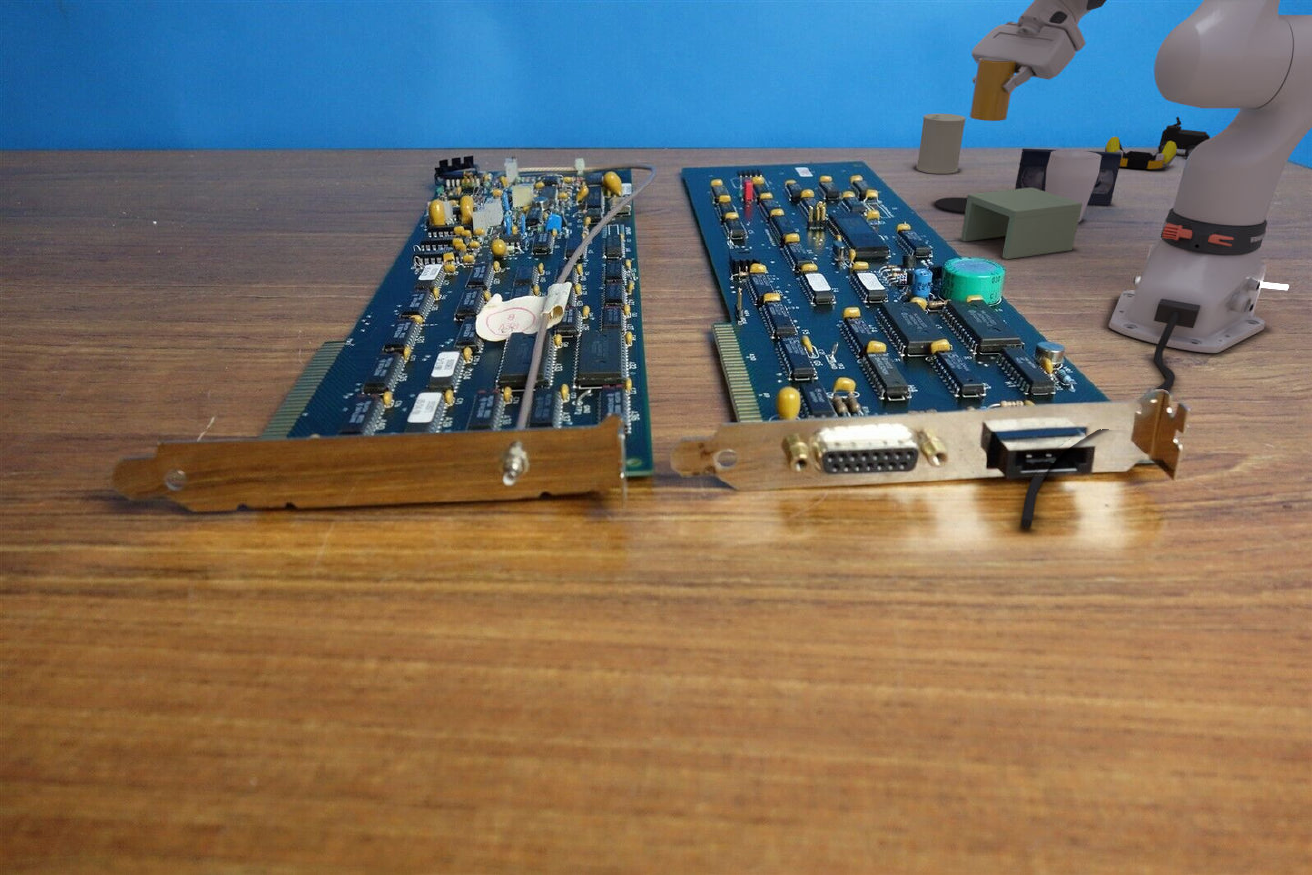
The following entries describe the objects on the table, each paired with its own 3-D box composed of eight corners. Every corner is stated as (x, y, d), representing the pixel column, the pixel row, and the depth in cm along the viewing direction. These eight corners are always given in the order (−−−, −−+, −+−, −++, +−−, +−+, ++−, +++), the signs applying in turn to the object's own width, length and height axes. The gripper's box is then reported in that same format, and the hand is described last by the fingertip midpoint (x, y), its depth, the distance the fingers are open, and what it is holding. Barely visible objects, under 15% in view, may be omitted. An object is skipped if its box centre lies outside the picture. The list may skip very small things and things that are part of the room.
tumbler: (997, 122, 168) (1007, 62, 163) (963, 118, 172) (972, 59, 167) (1012, 117, 172) (1022, 59, 167) (978, 113, 176) (988, 56, 171)
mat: (977, 217, 178) (978, 214, 178) (924, 207, 184) (925, 204, 184) (1001, 206, 185) (1002, 203, 185) (949, 197, 191) (950, 194, 191)
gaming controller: (1103, 158, 224) (1100, 167, 217) (1108, 135, 222) (1106, 142, 214) (1172, 165, 219) (1172, 173, 211) (1178, 140, 216) (1178, 148, 208)
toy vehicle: (1161, 150, 234) (1170, 113, 229) (1228, 157, 226) (1239, 120, 222) (1154, 155, 228) (1164, 118, 224) (1223, 163, 220) (1234, 125, 216)
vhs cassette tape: (1013, 200, 189) (1023, 150, 184) (1012, 197, 192) (1021, 147, 187) (1111, 206, 185) (1123, 155, 180) (1108, 202, 188) (1120, 152, 183)
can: (907, 167, 215) (914, 113, 210) (939, 163, 219) (947, 110, 213) (934, 175, 208) (942, 119, 202) (966, 171, 211) (975, 116, 206)
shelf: (1023, 231, 170) (1031, 187, 166) (1072, 250, 160) (1082, 203, 156) (960, 239, 165) (967, 194, 161) (1006, 259, 155) (1015, 211, 151)
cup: (1092, 227, 172) (1107, 161, 166) (1040, 224, 174) (1054, 158, 168) (1082, 214, 180) (1096, 150, 174) (1033, 211, 182) (1046, 148, 176)
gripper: (997, 9, 174) (946, 67, 176) (1078, 18, 158) (1021, 82, 159) (1011, 34, 178) (961, 90, 179) (1093, 45, 161) (1037, 108, 163)
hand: (990, 87), depth 169 cm, fingers closed on tumbler, 6 cm apart
